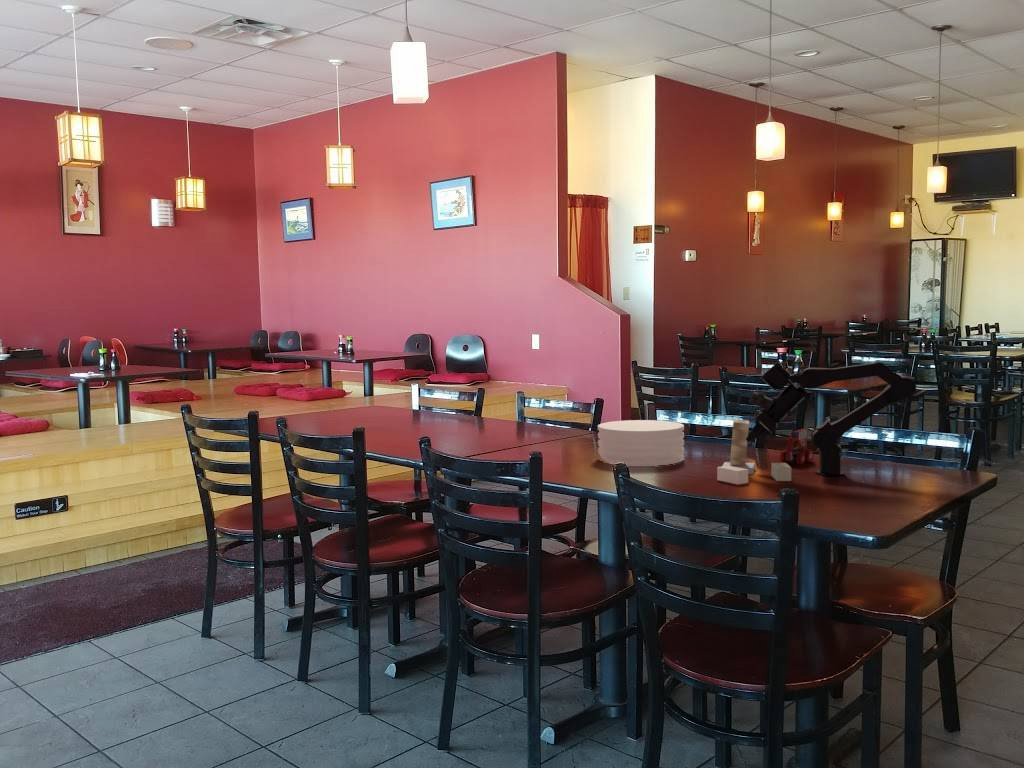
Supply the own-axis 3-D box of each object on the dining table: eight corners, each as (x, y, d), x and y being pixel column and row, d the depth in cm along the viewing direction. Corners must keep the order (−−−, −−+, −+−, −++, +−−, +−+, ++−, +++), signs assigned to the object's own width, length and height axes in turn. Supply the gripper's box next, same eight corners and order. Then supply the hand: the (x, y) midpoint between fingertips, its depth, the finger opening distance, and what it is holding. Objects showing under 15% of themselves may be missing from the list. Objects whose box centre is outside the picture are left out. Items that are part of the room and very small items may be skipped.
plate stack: (614, 451, 309) (613, 418, 308) (693, 455, 297) (693, 421, 296) (585, 464, 284) (585, 429, 283) (671, 469, 272) (670, 432, 271)
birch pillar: (745, 462, 268) (749, 420, 266) (745, 466, 263) (749, 423, 261) (730, 461, 269) (733, 419, 267) (729, 464, 265) (733, 422, 262)
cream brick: (748, 483, 248) (748, 469, 247) (738, 485, 246) (738, 470, 245) (727, 479, 255) (727, 465, 254) (717, 480, 252) (717, 467, 252)
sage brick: (791, 481, 249) (791, 467, 249) (776, 481, 249) (776, 467, 249) (785, 476, 257) (785, 462, 257) (771, 476, 257) (771, 462, 257)
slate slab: (754, 471, 269) (754, 462, 269) (752, 476, 260) (752, 468, 260) (724, 470, 272) (724, 462, 272) (721, 475, 263) (721, 466, 263)
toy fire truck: (776, 464, 276) (776, 431, 275) (795, 459, 285) (795, 427, 284) (797, 466, 271) (798, 433, 270) (815, 461, 280) (815, 428, 279)
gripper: (767, 380, 270) (731, 415, 274) (763, 385, 252) (724, 423, 257) (795, 405, 268) (758, 441, 272) (792, 412, 250) (753, 450, 255)
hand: (748, 438), depth 264 cm, fingers open, 9 cm apart
